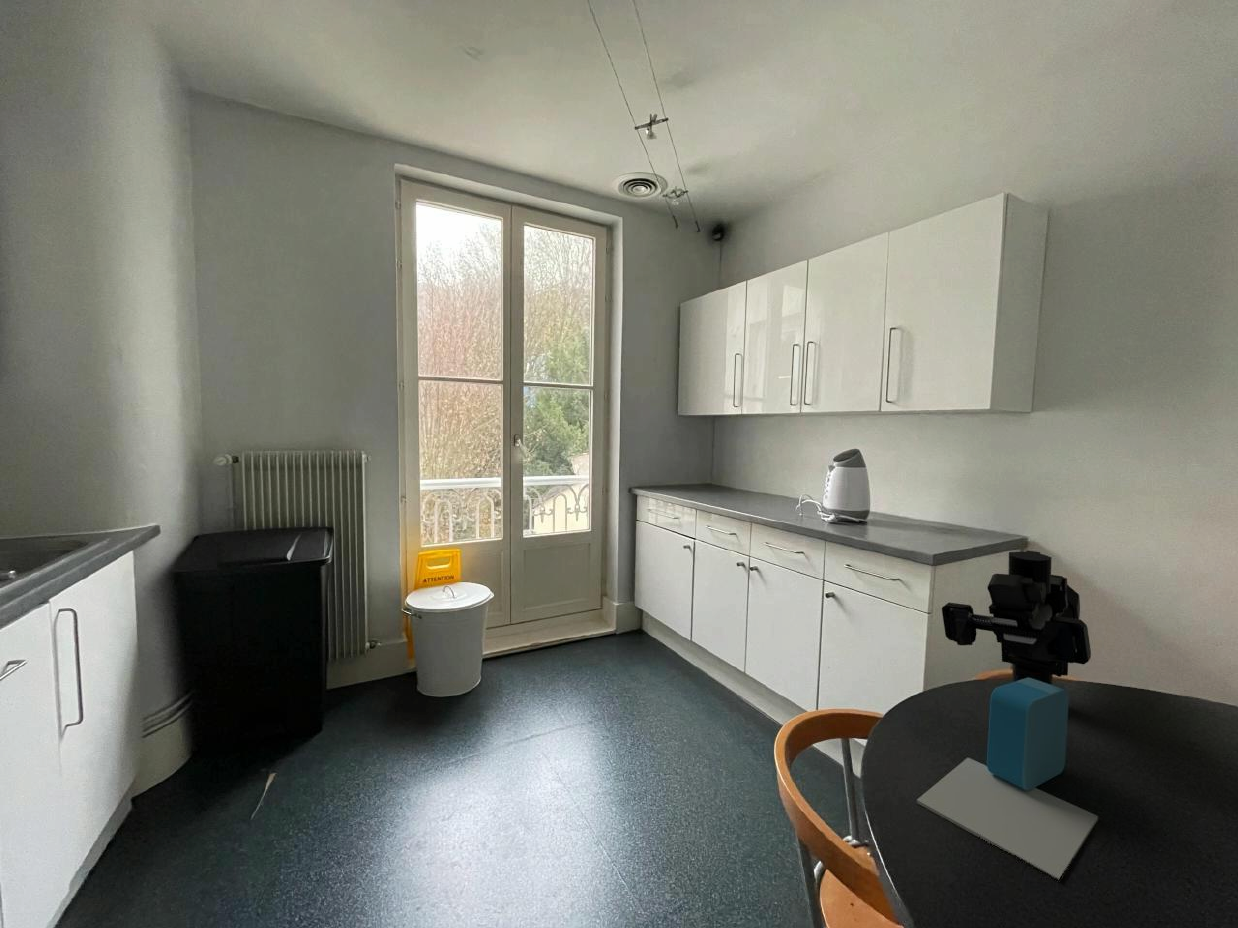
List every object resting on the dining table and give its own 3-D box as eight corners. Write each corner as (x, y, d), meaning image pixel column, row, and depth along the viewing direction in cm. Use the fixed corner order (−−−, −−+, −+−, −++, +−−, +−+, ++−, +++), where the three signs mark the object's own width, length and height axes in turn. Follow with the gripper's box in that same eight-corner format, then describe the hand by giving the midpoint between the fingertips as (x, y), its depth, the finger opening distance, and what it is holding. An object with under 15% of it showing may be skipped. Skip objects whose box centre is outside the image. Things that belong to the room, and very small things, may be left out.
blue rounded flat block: (1027, 754, 74) (1031, 675, 74) (1065, 771, 70) (1070, 687, 70) (985, 774, 68) (990, 688, 68) (1024, 794, 64) (1029, 703, 64)
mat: (967, 759, 72) (967, 757, 72) (1098, 819, 61) (1098, 816, 61) (916, 802, 63) (916, 799, 63) (1058, 881, 52) (1059, 878, 52)
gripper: (955, 565, 92) (919, 588, 83) (1090, 575, 77) (1065, 605, 68) (963, 624, 92) (928, 654, 83) (1100, 645, 77) (1076, 685, 68)
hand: (992, 648), depth 75 cm, fingers open, 9 cm apart
